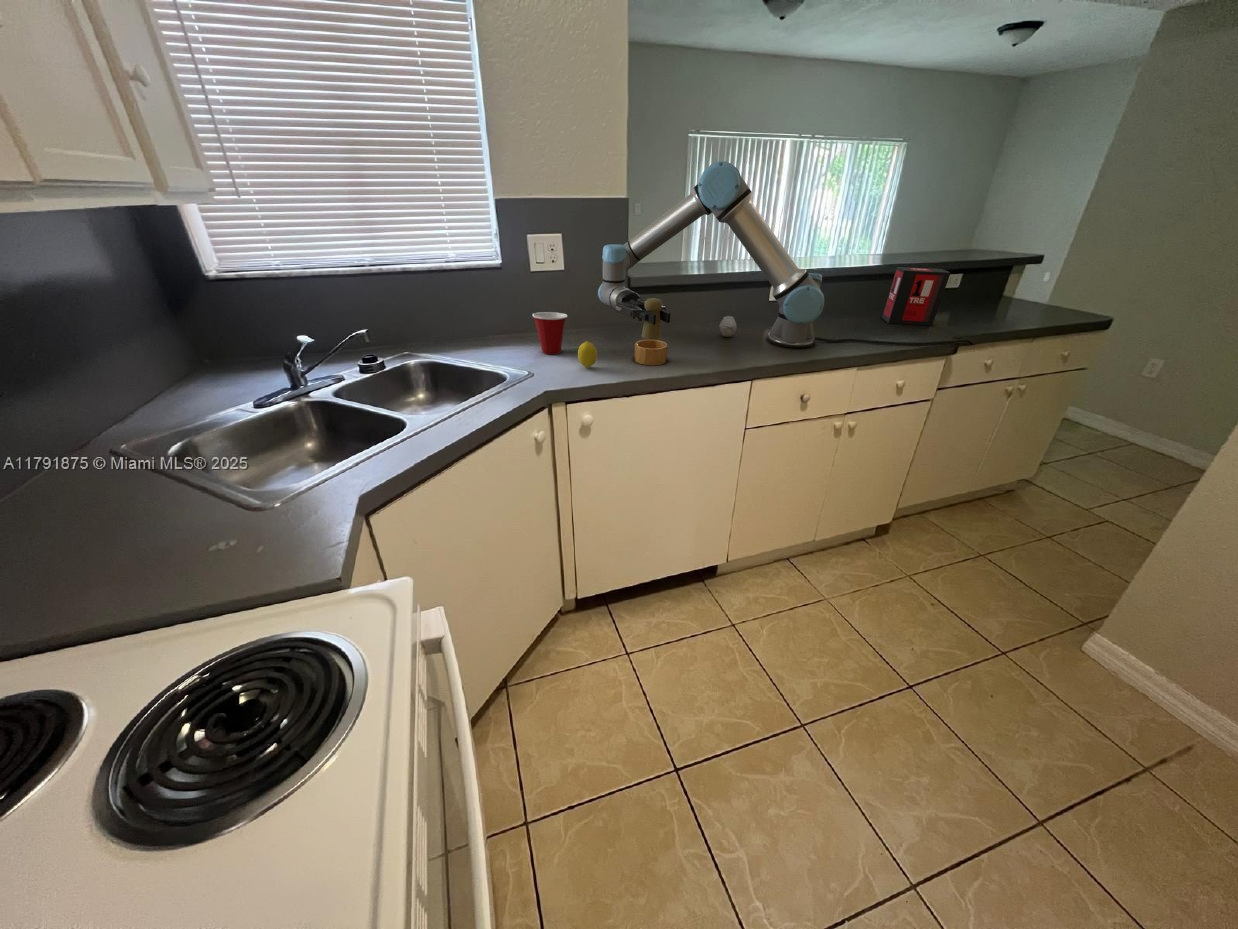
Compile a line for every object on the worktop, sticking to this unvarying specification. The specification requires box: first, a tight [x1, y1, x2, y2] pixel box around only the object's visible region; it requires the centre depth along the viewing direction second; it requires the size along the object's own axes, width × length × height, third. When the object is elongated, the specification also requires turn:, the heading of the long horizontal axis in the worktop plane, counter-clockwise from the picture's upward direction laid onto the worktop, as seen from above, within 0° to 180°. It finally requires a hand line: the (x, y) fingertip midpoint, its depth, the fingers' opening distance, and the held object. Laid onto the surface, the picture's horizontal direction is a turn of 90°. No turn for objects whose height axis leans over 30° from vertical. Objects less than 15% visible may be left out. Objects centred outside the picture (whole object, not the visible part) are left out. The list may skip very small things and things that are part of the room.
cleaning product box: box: [881, 266, 952, 327], centre depth 193 cm, size 16×9×20 cm, turn 80°
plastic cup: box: [532, 311, 568, 355], centre depth 153 cm, size 11×11×12 cm
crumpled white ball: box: [718, 315, 738, 338], centre depth 173 cm, size 6×7×7 cm
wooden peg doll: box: [641, 297, 663, 340], centre depth 144 cm, size 6×6×11 cm
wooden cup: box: [634, 339, 669, 366], centre depth 149 cm, size 10×10×5 cm
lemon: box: [577, 340, 598, 369], centre depth 141 cm, size 6×6×8 cm
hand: (661, 318), depth 139 cm, fingers closed on wooden peg doll, 4 cm apart
